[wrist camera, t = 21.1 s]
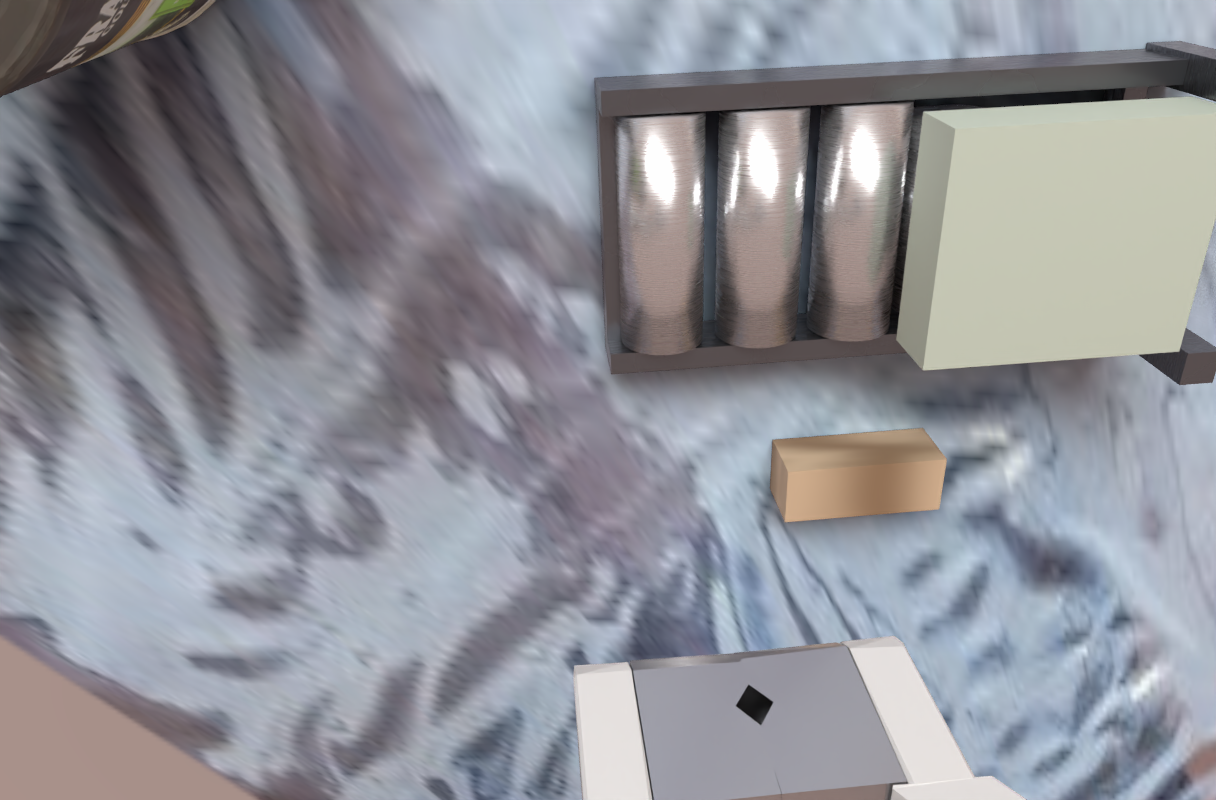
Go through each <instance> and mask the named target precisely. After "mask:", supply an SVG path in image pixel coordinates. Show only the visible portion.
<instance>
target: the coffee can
mask: <svg viewBox="0 0 1216 800" xmlns="http://www.w3.org/2000/svg"><path fill="white" fill-rule="evenodd" d="M215 1H216V0H0V97H2V96H3V95H6V94H8V93H12V92H14V91H16V90H19V89H21V88H24V87H26V86H29V85H31V84H33V83H36V82H39V81H41V80H43V79H46V78H49V77H50V76H53V75H55V74H58V73H60V72H63V71H65V70H67V69H69V68H72V67H75V66H77V65H80V64H82V63H85V62H87V61H90V60H92V59H95V58H97V57H100V56H103V55H106V54H108V53H111V52H114V51H116V50H118V49H120V48H123V47H126V46H128V45H131V44H133V43H136V42H138V41H142V40H147V39H151V38H155V37H158V36H161V35H164V34H167V33H169V32H171V31H174V30H176V29H178V28H180V27H182V26H185V25H187V24H188V23H190V22H191V21H193V20H194V19H196V18H197V17H199V16H200V15H201V14H202V13H203V12H204V11H205V10H207V9H208V8H209V7H210V6H211V5H212V4H213V3H214V2H215Z"/></svg>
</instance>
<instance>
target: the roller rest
mask: <svg viewBox="0 0 1216 800" xmlns="http://www.w3.org/2000/svg"><path fill="white" fill-rule="evenodd" d="M946 461H947V459H946V458H945V456H944V455H943V454H942V452H941V451H940V450H939V448H938V447H937V446H936V445H935V443H934V442H933V441H932V439H931V438H930V437H929V436H928V434H927V433H926V432H925V430H924V429H923V428H917V429H904V430H892V431H879V432H866V433H853V434H841V435H828V436H815V437H802V438H790V439H777V440H773V442H772V460H771V479H770V489H771V492H772V494H773V496H774V498H775V501H776V503H777V505H778V508H779V510H780V512H781V514H782V517H783V519H784V521H785V522H794V521H806V520H817V519H829V518H841V517H853V516H865V515H877V514H889V513H901V512H912V511H924V510H936V509H939V506H940V500H941V493H942V487H943V480H944V474H945V468H946Z"/></svg>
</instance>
